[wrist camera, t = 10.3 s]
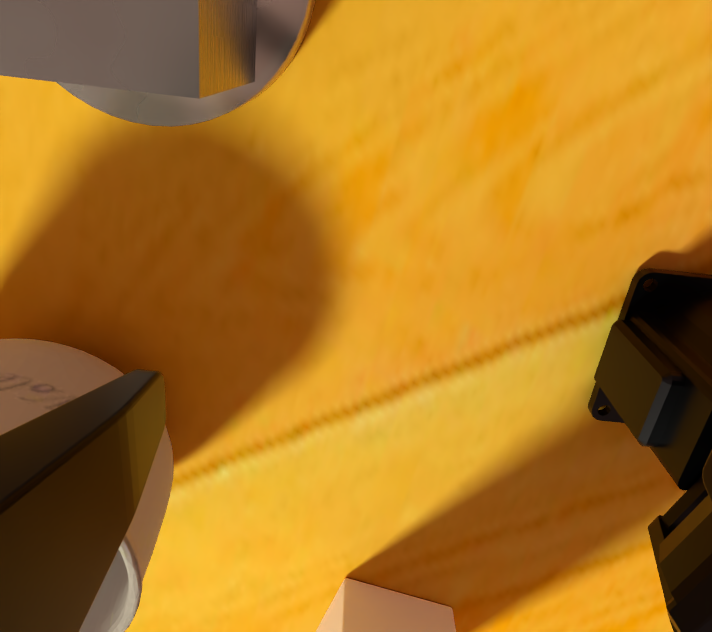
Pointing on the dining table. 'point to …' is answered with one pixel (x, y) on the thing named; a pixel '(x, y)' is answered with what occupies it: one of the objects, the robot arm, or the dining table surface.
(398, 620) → the milk
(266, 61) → the pan with red handle
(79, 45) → the matte grey cube
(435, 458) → the dining table surface
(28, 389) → the teacup
